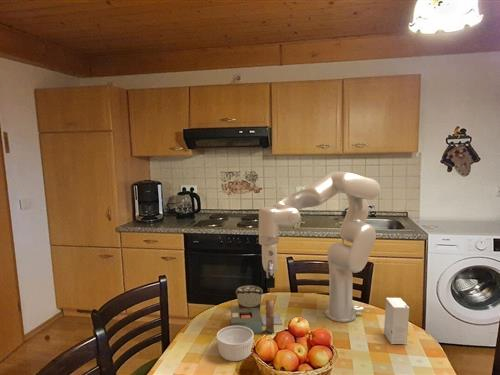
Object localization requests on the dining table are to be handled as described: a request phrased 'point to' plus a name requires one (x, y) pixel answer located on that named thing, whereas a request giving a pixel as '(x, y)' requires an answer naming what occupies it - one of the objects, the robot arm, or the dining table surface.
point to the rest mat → (276, 320)
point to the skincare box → (396, 320)
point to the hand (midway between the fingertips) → (268, 283)
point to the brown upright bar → (269, 316)
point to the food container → (249, 297)
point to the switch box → (247, 319)
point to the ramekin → (235, 342)
